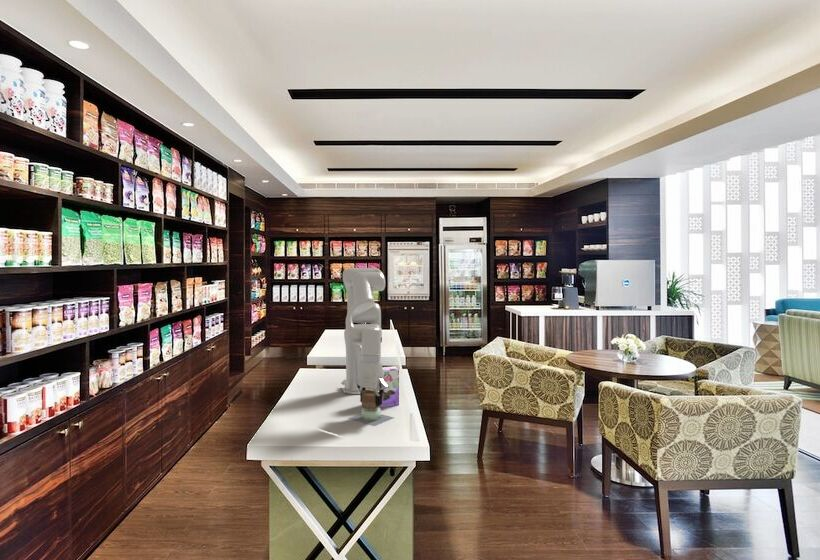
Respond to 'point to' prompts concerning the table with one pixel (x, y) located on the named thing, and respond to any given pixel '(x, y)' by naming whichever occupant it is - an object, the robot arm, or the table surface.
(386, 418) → the mat
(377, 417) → the jar
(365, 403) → the brown short round piece
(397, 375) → the candy box
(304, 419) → the table surface
